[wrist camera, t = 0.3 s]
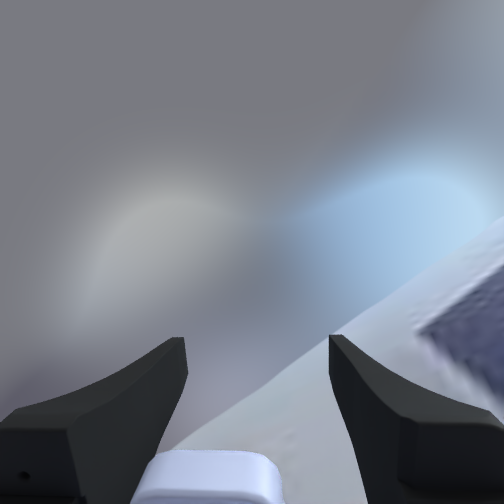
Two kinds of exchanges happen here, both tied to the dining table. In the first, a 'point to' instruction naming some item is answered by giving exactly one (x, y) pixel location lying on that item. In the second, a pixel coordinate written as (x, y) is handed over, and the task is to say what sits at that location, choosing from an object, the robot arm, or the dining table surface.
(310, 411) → the dining table surface
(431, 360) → the dining table surface
